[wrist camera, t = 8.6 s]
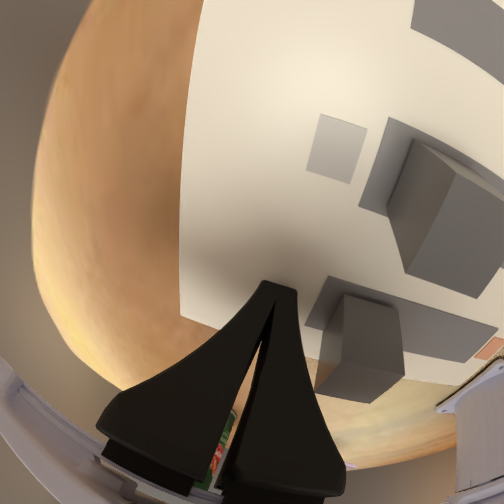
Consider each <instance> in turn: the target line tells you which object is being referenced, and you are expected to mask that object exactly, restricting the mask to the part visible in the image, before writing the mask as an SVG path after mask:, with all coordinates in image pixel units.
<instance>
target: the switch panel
mask: <svg viewBox="0 0 504 504" xmlns="http://www.w3.org/2000/svg"><path fill="white" fill-rule="evenodd" d="M414 139H415V140H418V141H420V142H422V143H424V144H426V145H428V146H430V147H432V148H434V149H436V150H438V151H440V152H442V153H444V154H446V155H447V156H449V157H451V158H453V159H455V160H456V161H458V162H460V163H462V164H463V165H465V166H467V167H469V168H470V169H472V170H474V171H475V172H477V173H478V174H479V175H480V176H482V177H483V178H484V179H485V180H486V181H488V182H489V183H490V184H491V185H492V186H493V187H495V188H496V189H497V190H498V191H499V192H500V193H501V194H502V195H504V0H204V3H203V8H202V12H201V17H200V22H199V28H198V33H197V39H196V44H195V50H194V57H193V63H192V70H191V77H190V85H189V92H188V101H187V110H186V119H185V130H184V142H183V155H182V170H181V189H180V218H179V286H180V314H181V316H184V317H186V318H189V319H192V320H194V321H197V322H199V323H202V324H205V325H208V326H210V327H213V328H216V329H219V330H220V329H221V328H222V327H223V326H224V325H226V324H227V323H228V322H229V321H230V320H231V319H232V318H233V317H234V316H235V315H236V313H237V312H238V311H239V310H240V309H241V308H242V307H243V306H244V305H245V303H246V302H247V301H248V300H249V299H250V297H251V296H252V295H253V293H254V292H255V291H256V289H257V287H258V286H259V284H260V282H261V281H262V280H268V281H271V282H274V283H277V284H280V285H283V286H287V287H290V288H293V289H296V290H297V292H298V317H299V326H300V333H301V339H302V345H303V351H304V355H305V357H308V358H312V359H316V360H319V355H320V348H321V340H322V333H323V330H324V329H325V327H326V325H327V324H328V322H329V320H330V319H331V317H332V315H333V313H334V312H335V310H336V308H337V307H338V305H339V303H340V301H341V300H342V298H343V296H344V294H346V295H350V296H353V297H356V298H360V299H363V300H366V301H370V302H373V303H376V304H380V305H383V306H387V307H390V308H393V309H397V310H398V312H399V319H400V327H401V335H402V344H403V354H404V366H405V376H404V377H402V378H403V379H409V380H415V381H422V382H428V383H436V384H443V385H452V386H459V385H461V384H462V383H463V382H464V381H466V380H467V379H468V378H469V377H470V376H472V375H473V374H474V373H475V372H476V371H478V370H479V369H480V368H481V367H482V366H483V365H484V364H485V363H487V362H488V361H489V360H490V359H491V358H492V357H493V356H494V355H495V354H496V353H497V352H498V351H499V350H500V349H501V348H502V347H503V346H504V262H503V263H502V265H501V266H500V268H499V269H498V271H497V272H496V274H495V275H494V277H493V278H492V280H491V281H490V283H489V284H488V285H487V287H486V288H485V289H484V291H483V292H482V293H481V295H480V296H479V297H478V299H475V298H472V297H469V296H467V295H464V294H461V293H459V292H456V291H453V290H450V289H448V288H445V287H442V286H439V285H436V284H434V283H431V282H428V281H425V280H422V279H419V278H417V277H414V276H411V275H408V274H405V272H404V268H403V264H402V261H401V257H400V253H399V250H398V247H397V243H396V240H395V237H394V234H393V230H392V227H391V224H390V221H389V218H388V215H387V213H386V210H387V207H388V205H389V203H390V200H391V198H392V196H393V193H394V191H395V188H396V186H397V183H398V181H399V178H400V176H401V173H402V171H403V168H404V165H405V163H406V160H407V157H408V155H409V152H410V149H411V146H412V143H413V140H414ZM260 344H261V343H260Z"/></svg>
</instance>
